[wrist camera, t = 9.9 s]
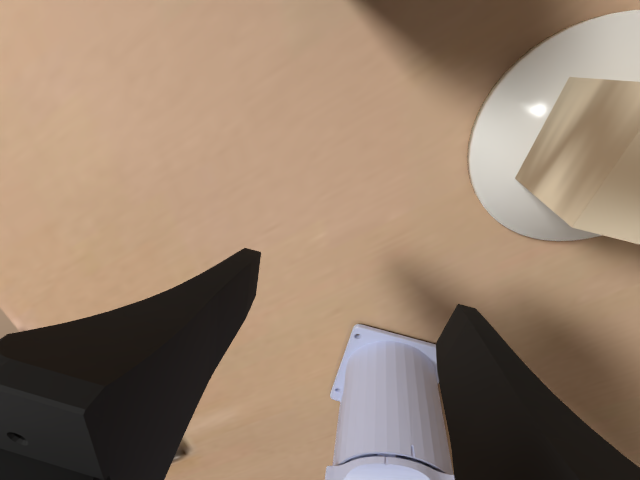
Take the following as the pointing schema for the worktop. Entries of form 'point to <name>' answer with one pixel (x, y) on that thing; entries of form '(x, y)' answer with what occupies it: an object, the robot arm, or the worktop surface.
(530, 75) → the coaster
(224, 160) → the worktop surface
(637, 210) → the beech block
